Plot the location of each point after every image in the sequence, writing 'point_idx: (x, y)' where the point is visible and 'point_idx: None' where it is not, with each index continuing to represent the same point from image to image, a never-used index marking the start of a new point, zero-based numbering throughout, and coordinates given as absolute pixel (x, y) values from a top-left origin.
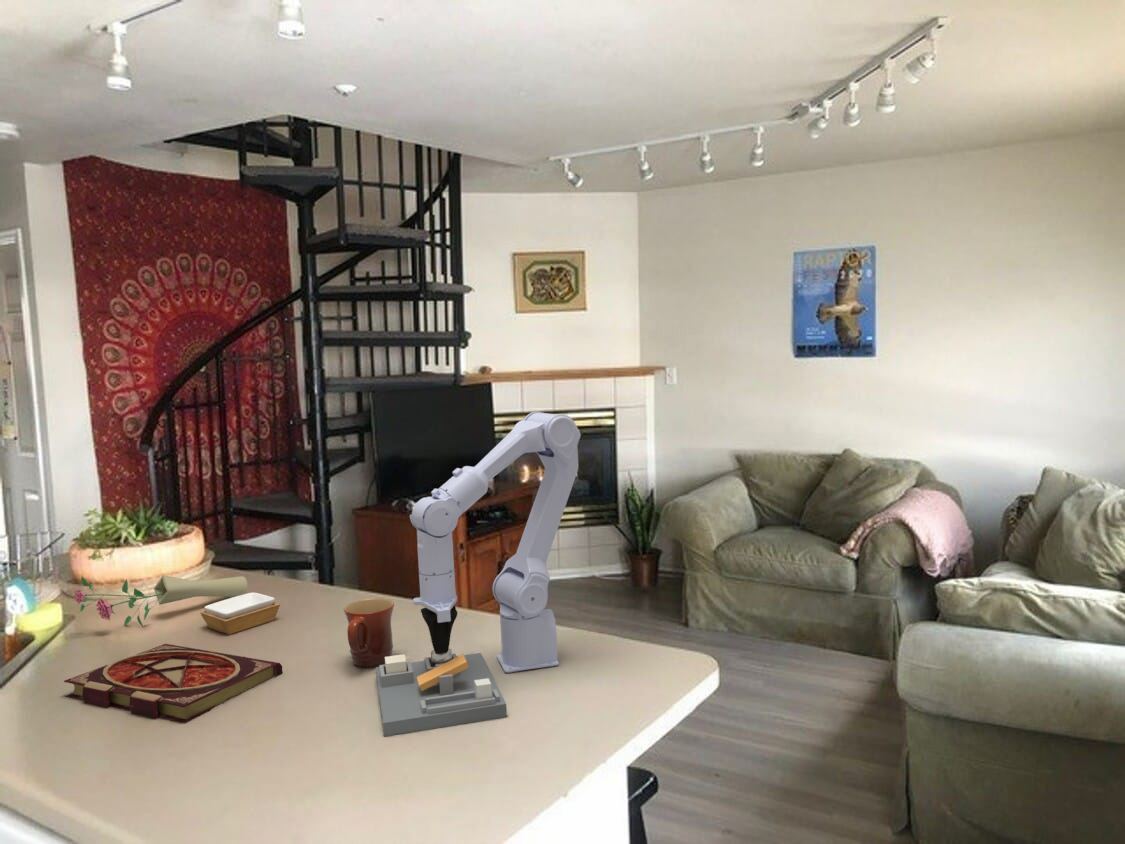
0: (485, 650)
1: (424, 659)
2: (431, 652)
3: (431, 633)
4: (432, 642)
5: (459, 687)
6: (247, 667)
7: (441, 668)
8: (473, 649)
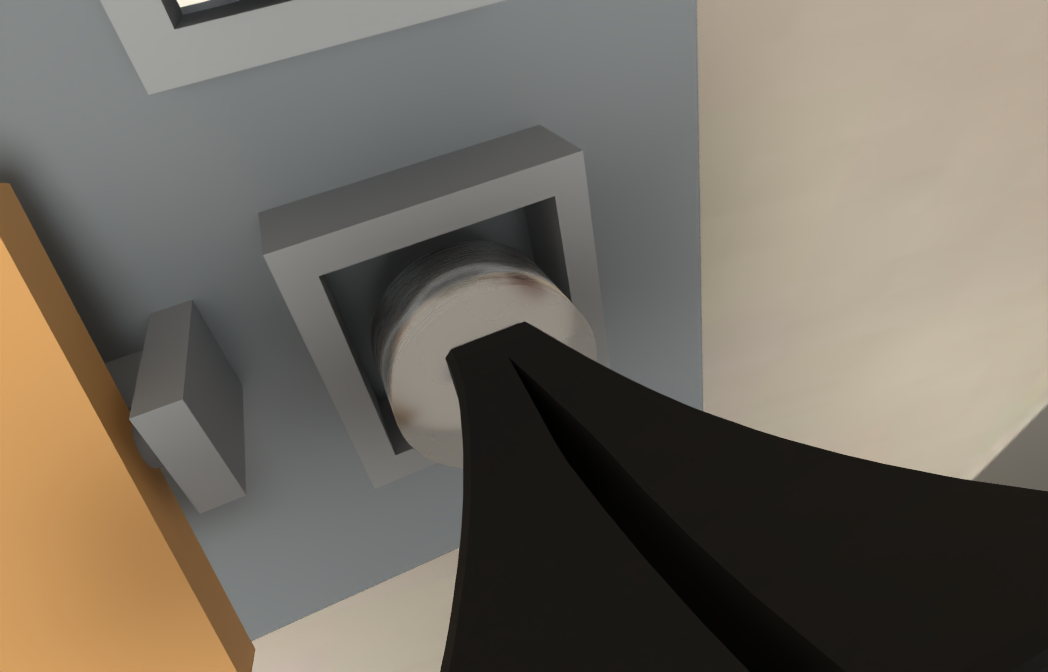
0: (821, 368)
1: (566, 149)
2: (494, 295)
3: (460, 545)
4: (469, 417)
5: None
6: None
7: (18, 513)
8: (859, 309)
